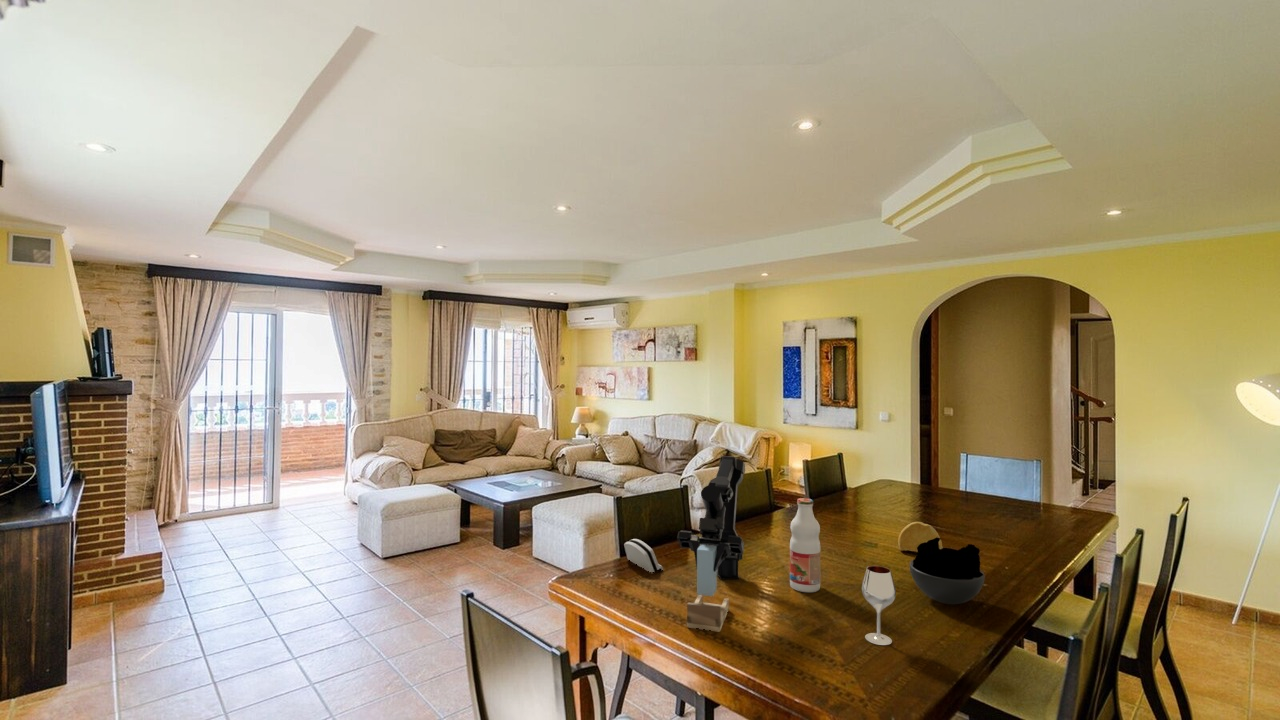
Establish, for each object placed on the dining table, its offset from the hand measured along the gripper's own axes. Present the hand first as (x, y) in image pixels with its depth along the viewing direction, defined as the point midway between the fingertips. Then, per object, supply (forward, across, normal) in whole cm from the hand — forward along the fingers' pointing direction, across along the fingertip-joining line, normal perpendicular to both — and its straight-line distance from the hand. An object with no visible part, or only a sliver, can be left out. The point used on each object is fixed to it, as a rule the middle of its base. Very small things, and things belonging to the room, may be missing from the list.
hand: (705, 569), depth 161 cm
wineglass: (+8, +45, +11) cm, 47 cm away
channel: (+10, +1, +9) cm, 13 cm away
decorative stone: (-50, +65, +71) cm, 109 cm away
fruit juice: (-13, +25, +33) cm, 44 cm away
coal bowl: (-15, +66, +35) cm, 76 cm away
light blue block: (+4, 0, +6) cm, 7 cm away
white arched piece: (-14, -31, +34) cm, 48 cm away
